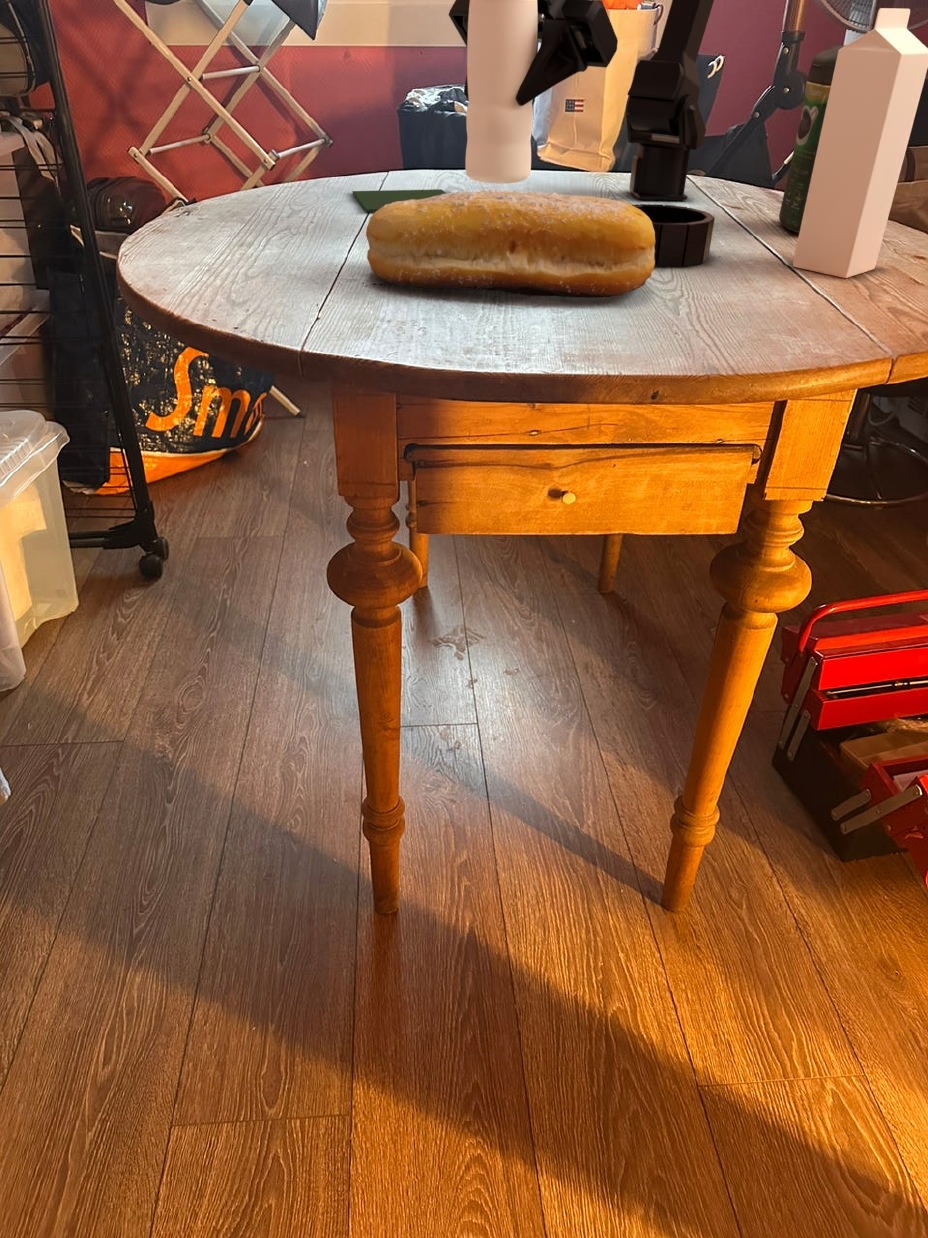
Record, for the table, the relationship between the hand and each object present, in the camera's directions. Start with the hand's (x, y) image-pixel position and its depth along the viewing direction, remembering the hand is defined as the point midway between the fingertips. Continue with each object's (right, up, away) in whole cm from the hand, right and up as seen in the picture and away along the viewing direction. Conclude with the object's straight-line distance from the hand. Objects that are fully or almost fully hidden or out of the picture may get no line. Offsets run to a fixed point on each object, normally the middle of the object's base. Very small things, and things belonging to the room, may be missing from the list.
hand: (492, 99), depth 95 cm
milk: (+35, -18, -1) cm, 39 cm away
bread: (+1, -23, -9) cm, 24 cm away
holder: (+17, -15, +2) cm, 23 cm away
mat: (-10, 0, +22) cm, 25 cm away
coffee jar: (+39, -8, +14) cm, 42 cm away
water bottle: (+1, -6, +5) cm, 8 cm away
